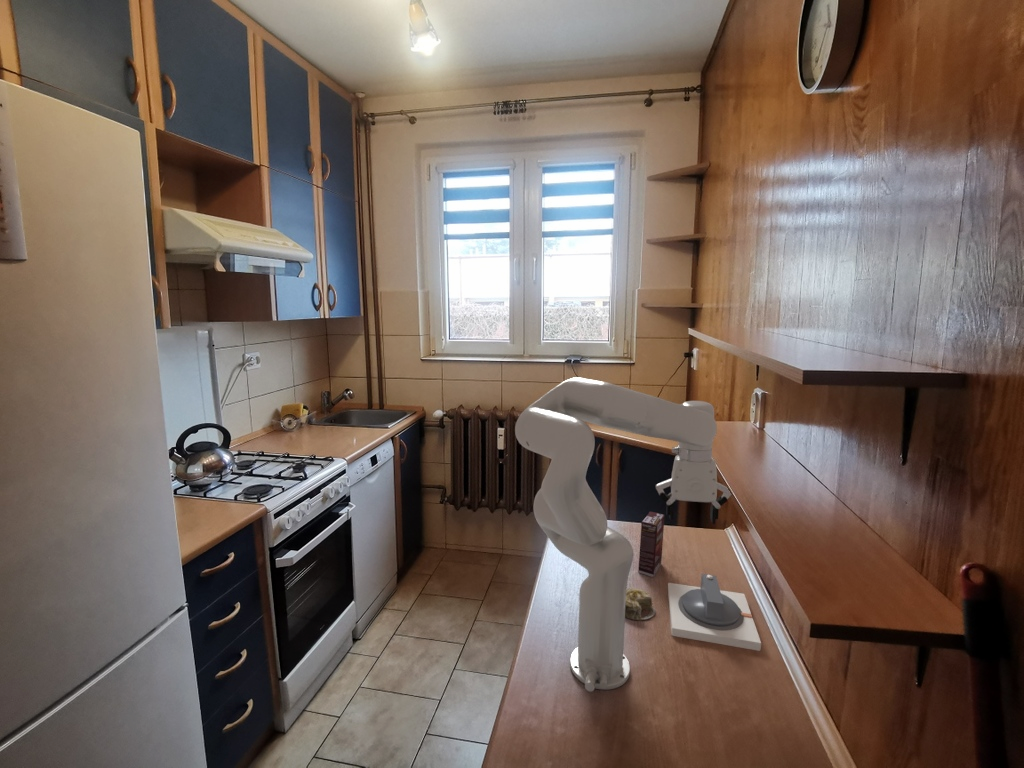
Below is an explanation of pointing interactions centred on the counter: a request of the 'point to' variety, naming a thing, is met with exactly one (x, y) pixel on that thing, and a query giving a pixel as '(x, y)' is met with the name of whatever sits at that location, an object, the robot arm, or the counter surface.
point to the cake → (638, 604)
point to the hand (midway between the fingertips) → (691, 519)
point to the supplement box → (651, 544)
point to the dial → (710, 604)
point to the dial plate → (691, 628)
